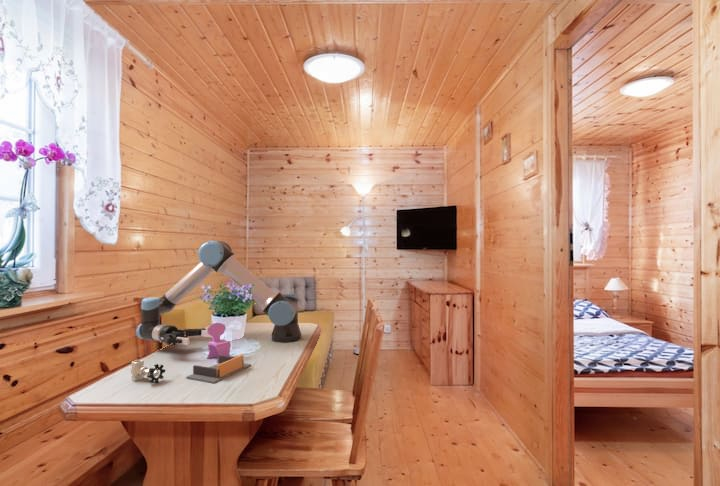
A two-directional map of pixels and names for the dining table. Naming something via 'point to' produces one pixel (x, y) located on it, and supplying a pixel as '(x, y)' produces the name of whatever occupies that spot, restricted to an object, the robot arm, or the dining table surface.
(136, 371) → the valve
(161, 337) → the robot arm
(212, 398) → the dining table surface
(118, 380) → the dining table surface
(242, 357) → the grey and orange tray
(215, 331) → the toy chair
